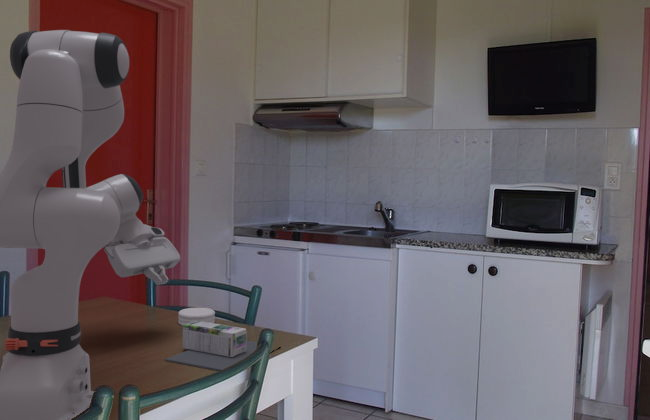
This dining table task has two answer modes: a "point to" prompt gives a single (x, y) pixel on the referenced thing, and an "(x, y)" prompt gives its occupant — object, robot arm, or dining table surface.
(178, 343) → the dining table surface
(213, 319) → the white round tub
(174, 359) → the mat
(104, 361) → the dining table surface
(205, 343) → the syrup box
